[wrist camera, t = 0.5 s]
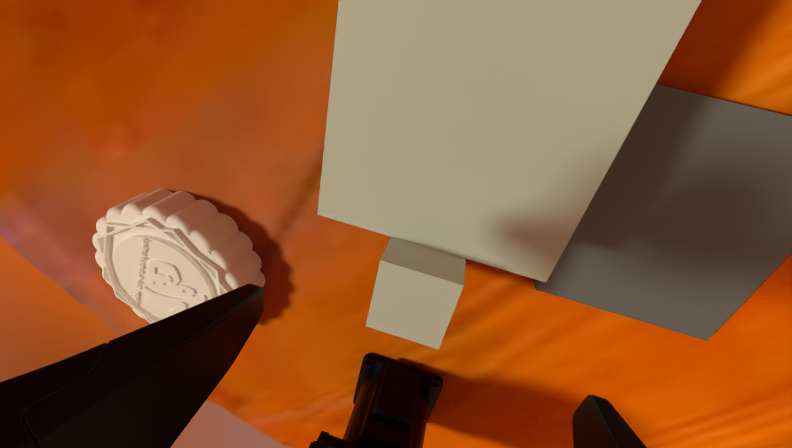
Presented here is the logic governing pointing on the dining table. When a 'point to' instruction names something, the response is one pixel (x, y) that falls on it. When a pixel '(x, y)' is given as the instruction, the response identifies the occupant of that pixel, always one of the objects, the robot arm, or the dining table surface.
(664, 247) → the mat
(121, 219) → the mooncake
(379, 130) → the lid
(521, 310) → the dining table surface
